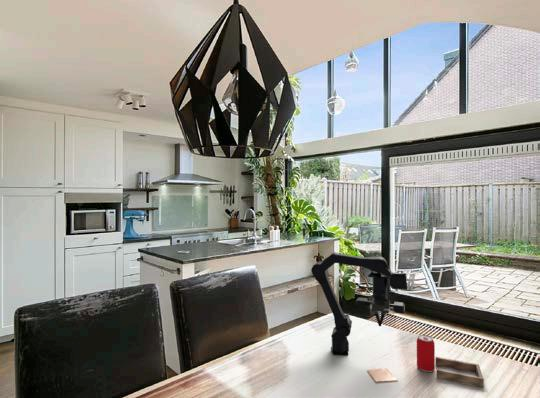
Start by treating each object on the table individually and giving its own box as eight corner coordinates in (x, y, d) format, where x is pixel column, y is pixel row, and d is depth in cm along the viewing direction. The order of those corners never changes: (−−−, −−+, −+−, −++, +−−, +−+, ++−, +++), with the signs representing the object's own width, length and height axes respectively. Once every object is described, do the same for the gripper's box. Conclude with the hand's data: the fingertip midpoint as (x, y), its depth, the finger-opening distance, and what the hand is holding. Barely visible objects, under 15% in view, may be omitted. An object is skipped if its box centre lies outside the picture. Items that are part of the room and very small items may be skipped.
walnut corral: (436, 378, 118) (436, 369, 118) (435, 364, 128) (435, 356, 128) (483, 387, 112) (483, 379, 112) (478, 372, 122) (478, 364, 122)
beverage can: (433, 366, 127) (433, 335, 127) (435, 374, 121) (435, 342, 121) (415, 363, 129) (415, 333, 129) (417, 371, 123) (417, 339, 123)
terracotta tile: (376, 384, 116) (376, 381, 116) (367, 372, 124) (367, 369, 124) (397, 382, 116) (397, 380, 116) (387, 371, 124) (387, 368, 124)
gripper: (353, 290, 130) (353, 329, 130) (403, 296, 122) (403, 337, 122) (358, 283, 140) (358, 319, 140) (404, 288, 132) (404, 326, 133)
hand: (380, 325), depth 134 cm, fingers closed
